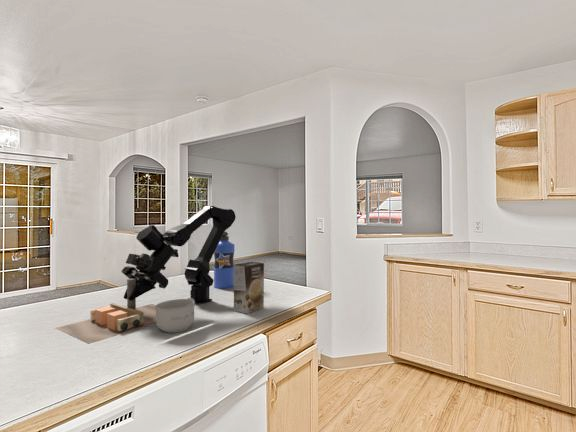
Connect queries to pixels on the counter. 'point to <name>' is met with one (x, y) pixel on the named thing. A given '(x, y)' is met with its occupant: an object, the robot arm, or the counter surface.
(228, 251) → the water bottle
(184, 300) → the teacup
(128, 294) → the wooden pusher with handle
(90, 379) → the counter surface
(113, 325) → the block
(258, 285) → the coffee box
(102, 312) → the block
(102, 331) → the board
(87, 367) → the counter surface
